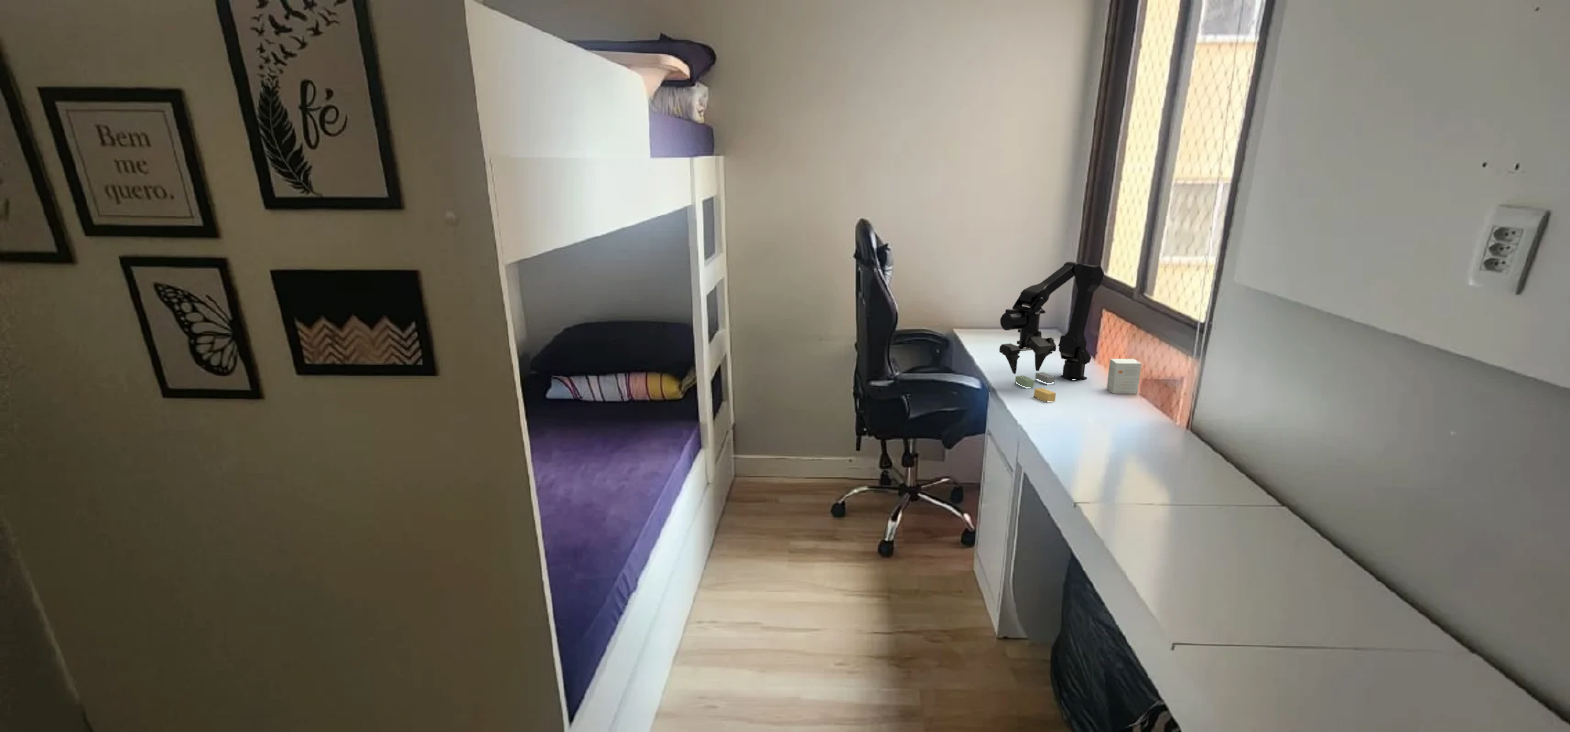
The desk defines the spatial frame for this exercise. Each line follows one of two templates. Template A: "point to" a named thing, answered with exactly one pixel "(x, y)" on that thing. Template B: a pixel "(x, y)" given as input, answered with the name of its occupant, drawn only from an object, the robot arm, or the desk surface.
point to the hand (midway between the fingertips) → (1025, 372)
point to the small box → (1123, 376)
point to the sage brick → (1024, 381)
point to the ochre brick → (1044, 394)
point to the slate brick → (1045, 377)
